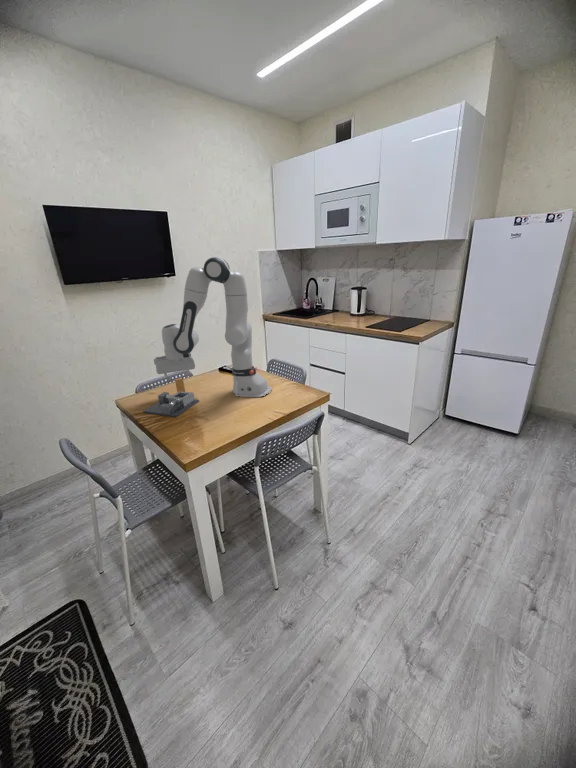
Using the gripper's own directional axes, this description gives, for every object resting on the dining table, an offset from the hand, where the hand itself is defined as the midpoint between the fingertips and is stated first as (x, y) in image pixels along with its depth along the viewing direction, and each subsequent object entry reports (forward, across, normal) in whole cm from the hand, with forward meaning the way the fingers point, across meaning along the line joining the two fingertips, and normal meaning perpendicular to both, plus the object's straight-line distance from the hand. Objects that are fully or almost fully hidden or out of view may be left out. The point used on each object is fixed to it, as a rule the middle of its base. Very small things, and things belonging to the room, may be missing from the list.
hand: (177, 378), depth 175 cm
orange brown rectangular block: (+9, +1, 0) cm, 9 cm away
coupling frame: (+9, -6, -16) cm, 19 cm away
